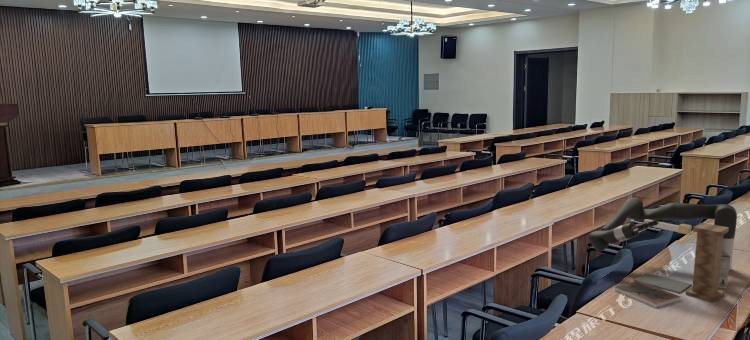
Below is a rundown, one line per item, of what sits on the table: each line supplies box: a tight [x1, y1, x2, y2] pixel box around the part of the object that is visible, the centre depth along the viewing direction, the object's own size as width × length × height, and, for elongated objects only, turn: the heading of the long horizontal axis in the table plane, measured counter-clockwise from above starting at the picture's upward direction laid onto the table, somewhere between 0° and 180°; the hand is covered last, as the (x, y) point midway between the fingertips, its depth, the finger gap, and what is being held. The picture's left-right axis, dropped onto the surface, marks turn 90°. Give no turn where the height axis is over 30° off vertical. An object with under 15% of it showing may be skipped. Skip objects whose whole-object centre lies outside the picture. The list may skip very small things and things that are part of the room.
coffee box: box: [718, 250, 730, 289], centre depth 256 cm, size 9×6×16 cm
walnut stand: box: [685, 222, 729, 303], centre depth 244 cm, size 12×12×32 cm
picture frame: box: [614, 280, 681, 308], centre depth 248 cm, size 16×2×22 cm
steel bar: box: [643, 219, 692, 235], centre depth 255 cm, size 20×4×4 cm, turn 40°
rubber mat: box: [633, 272, 693, 294], centre depth 261 cm, size 21×14×1 cm, turn 41°
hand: (658, 221), depth 258 cm, fingers closed on steel bar, 2 cm apart
